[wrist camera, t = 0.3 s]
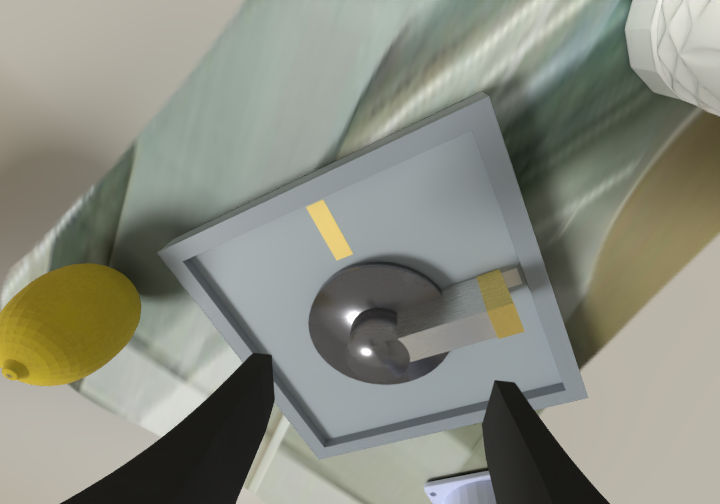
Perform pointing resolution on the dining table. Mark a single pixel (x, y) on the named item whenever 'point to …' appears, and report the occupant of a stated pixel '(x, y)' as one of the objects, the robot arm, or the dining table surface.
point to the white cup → (677, 49)
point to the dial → (404, 320)
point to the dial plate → (385, 244)
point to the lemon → (67, 324)
